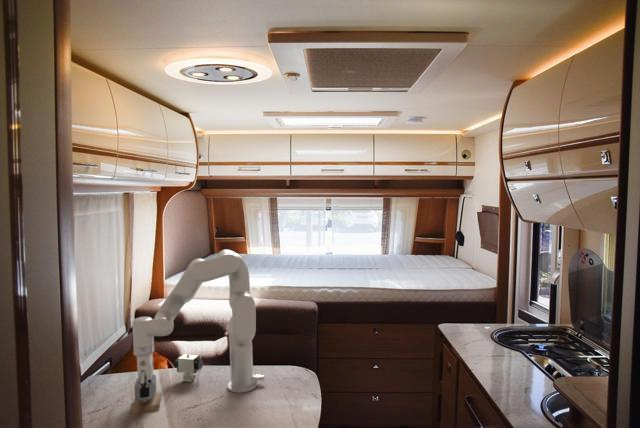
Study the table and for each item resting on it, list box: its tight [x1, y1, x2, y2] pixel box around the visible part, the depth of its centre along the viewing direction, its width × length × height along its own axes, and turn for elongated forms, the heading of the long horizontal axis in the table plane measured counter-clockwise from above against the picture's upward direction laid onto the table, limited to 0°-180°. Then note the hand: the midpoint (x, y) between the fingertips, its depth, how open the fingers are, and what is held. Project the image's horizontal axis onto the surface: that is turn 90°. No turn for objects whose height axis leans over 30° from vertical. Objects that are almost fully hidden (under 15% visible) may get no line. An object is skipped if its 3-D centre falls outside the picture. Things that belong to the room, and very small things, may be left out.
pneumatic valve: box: [173, 353, 204, 383], centre depth 183 cm, size 6×12×12 cm, turn 78°
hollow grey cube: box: [134, 376, 157, 401], centre depth 162 cm, size 7×7×6 cm
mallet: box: [130, 374, 163, 415], centre depth 171 cm, size 10×27×6 cm, turn 17°
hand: (145, 392), depth 162 cm, fingers closed on hollow grey cube, 7 cm apart
